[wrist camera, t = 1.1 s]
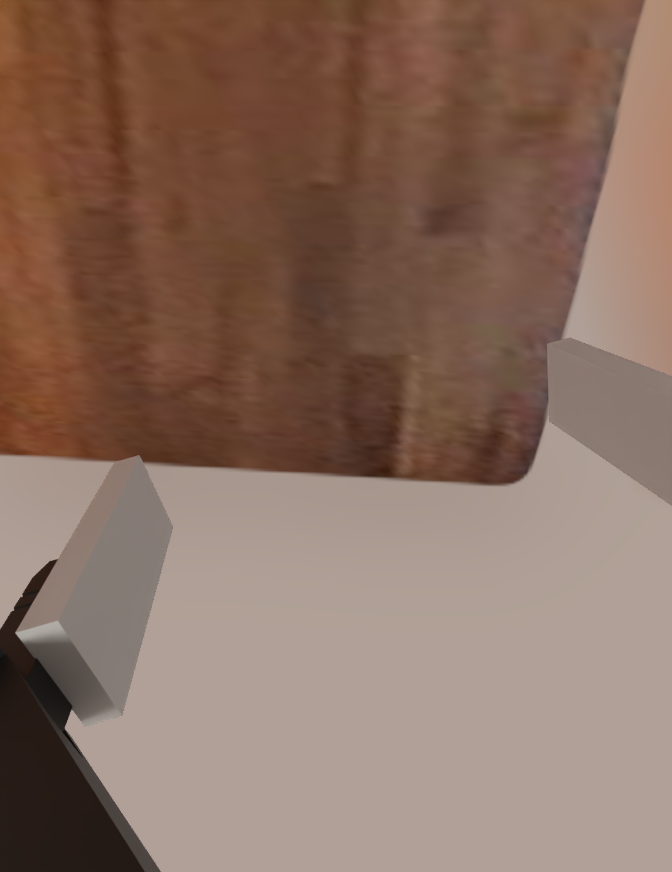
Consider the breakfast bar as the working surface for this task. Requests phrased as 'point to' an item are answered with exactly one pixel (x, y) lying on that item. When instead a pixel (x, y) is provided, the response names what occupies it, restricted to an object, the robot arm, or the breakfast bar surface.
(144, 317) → the breakfast bar surface
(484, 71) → the breakfast bar surface
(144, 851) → the robot arm
